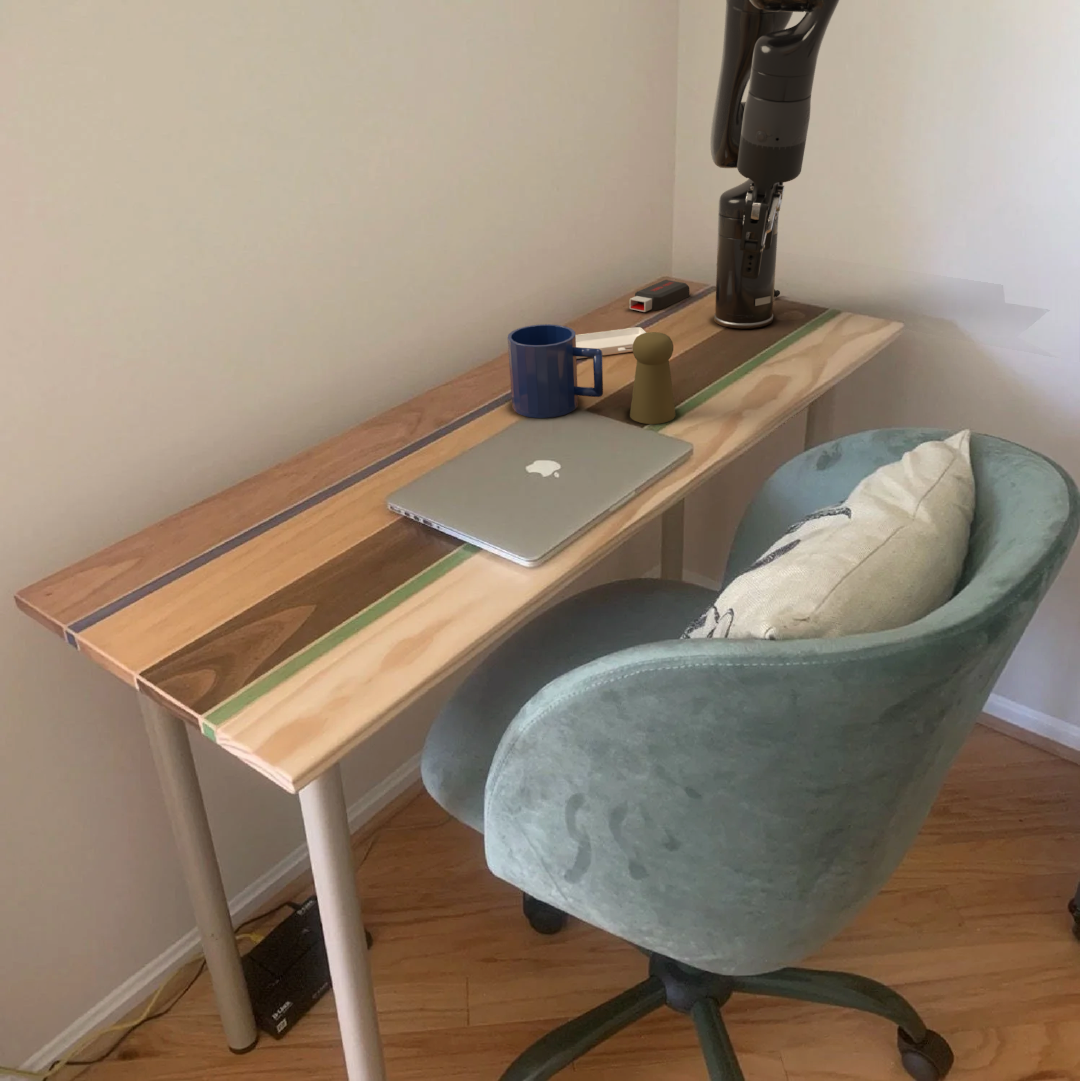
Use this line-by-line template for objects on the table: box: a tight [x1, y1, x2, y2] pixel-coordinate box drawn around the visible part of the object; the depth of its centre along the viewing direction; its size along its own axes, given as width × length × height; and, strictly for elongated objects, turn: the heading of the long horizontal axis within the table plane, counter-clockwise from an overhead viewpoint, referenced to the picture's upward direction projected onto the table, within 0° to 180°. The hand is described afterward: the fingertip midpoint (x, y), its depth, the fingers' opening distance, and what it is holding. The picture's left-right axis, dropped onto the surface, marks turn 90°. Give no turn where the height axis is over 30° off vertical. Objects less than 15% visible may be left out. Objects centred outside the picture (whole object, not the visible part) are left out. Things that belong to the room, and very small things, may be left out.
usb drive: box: [628, 279, 690, 313], centre depth 179 cm, size 5×12×3 cm, turn 139°
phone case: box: [576, 326, 647, 360], centre depth 161 cm, size 7×1×15 cm
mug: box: [507, 323, 604, 419], centre depth 139 cm, size 13×9×10 cm
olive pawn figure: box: [629, 331, 677, 425], centre depth 135 cm, size 6×6×11 cm
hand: (755, 261), depth 131 cm, fingers open, 8 cm apart
